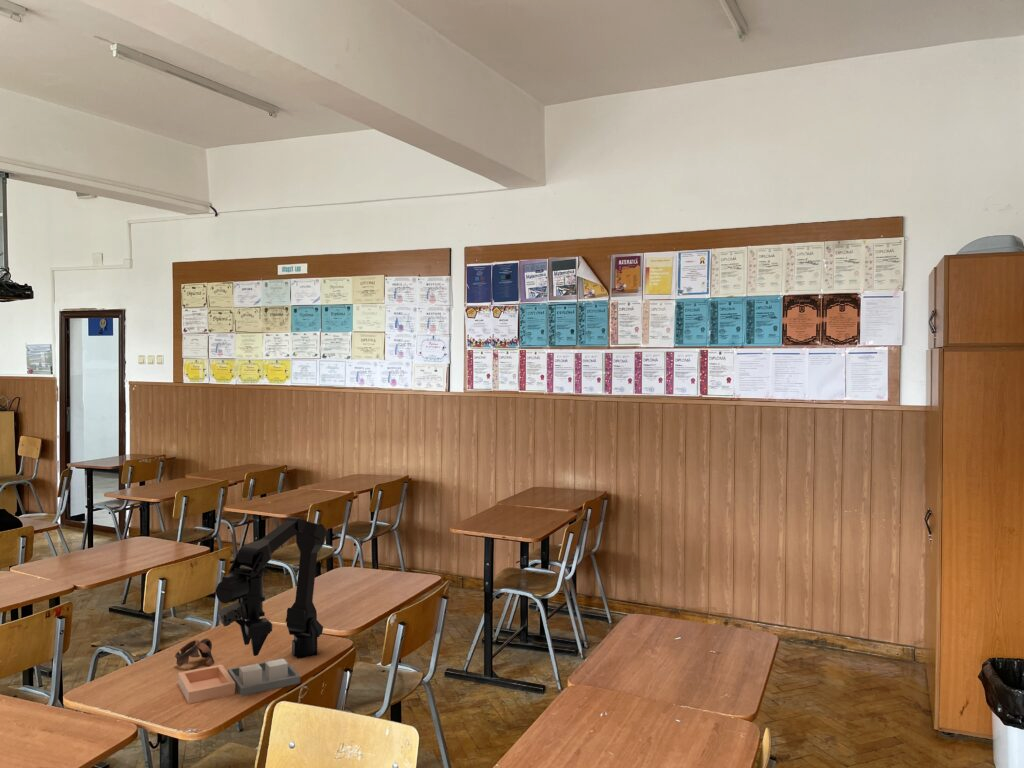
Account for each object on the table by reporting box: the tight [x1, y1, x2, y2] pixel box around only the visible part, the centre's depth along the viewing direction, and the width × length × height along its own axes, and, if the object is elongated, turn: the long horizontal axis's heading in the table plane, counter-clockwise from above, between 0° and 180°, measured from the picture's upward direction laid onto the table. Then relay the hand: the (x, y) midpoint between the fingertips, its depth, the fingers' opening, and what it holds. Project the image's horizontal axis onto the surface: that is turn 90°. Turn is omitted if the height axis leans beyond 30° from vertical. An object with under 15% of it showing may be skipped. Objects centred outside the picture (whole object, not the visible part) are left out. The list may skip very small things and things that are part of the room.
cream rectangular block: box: [238, 663, 262, 687], centre depth 205 cm, size 5×4×4 cm
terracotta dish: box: [177, 664, 236, 705], centre depth 201 cm, size 11×14×4 cm
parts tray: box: [227, 657, 301, 697], centre depth 207 cm, size 16×15×3 cm
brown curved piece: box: [174, 637, 215, 667], centre depth 218 cm, size 12×10×8 cm
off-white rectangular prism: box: [264, 658, 289, 681], centre depth 209 cm, size 5×4×4 cm
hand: (251, 650), depth 205 cm, fingers open, 9 cm apart
